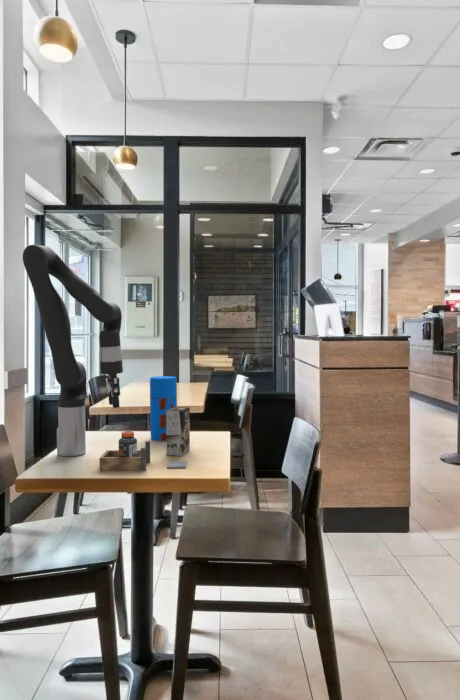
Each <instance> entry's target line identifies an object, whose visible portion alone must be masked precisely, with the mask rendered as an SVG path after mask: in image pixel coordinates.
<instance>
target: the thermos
mask: <svg viewBox="0 0 460 700" xmlns="http://www.w3.org/2000/svg"><path fill="white" fill-rule="evenodd" d="M177 381H178V380H177V377H176V376H171V375H170V376H169V375H167V376H165V375H164V376H162V375H161V376H151V377H150V378H149V408H150V409H149V416H150V417H149V421H150V422H149V423H150V424H149V426H150V428H149V429H150V430H149V431H150V440H151V441H155V442H156V441H157V442H166V439H167V438H166V410H169V409H171V408H173V407H178V397H177V396H178V385H177V384H178V382H177Z"/></svg>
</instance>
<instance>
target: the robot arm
mask: <svg viewBox="0 0 460 700" xmlns="http://www.w3.org/2000/svg"><path fill="white" fill-rule="evenodd" d="M22 263H23V266H24V269H25V271H26V273H27V276H28V279H29V281H30V284H31V287H32V290H33V293H34V298H35V301H36V304H37V307H38V311H39V316H40V320H41V323H42V327H43V330H44V333H45V336H46V340H47V343H48V346H49V349H50V351H51V352H50V353H51V358H52V363H53V370H54V377H55V379H56V382H57V383H58V384H59V385H60V392H59V397H58V398H57V403H58V404H57V407H58V408H57V409H58V410H57V411H58V414H57V415H58V416H57V417H58V419H57V420H58V427H57V428H56V455H57V456H61V457H78V456H81V455H82V456H83V455H84V454H86V452H87V450H86V449H87V446H86V443H87V442H86V441H87V440H86V439H87V437H86V398H87V371H86V368H85V365H84V364H82V363H81V362H80V361H77V360H76V356H75V354H74V353H75V352H74V349H73V346H72V328H71V326H72V325H71V320H70V316H69V313H68V309H67V305H66V304H65V302H64V301H65V300H63V297H62V296H61V295H60V294H59V292H58V291H57V289H56V288H55V287H54V284H53V282H52V280H51V277H50V276H52V277H53V278H55V279H56V280H58V282H60V283H61V284H62V285H63V287H64V288H65V290H66V292H67V293H68V294H69V295H70V296H71V297H72V298H73V299H74V300H75V301H77V302H78V304H79V303H80V305H82V306H83V307H85V309H86V310H87V311H88V312H89V314H90V315H91V316H92V317H93V318H94V319H96V320H97V321H98V322H101V323H103V326H102V330H100V331H99V336H98V337H99V339H98V340H99V363H100V366H99V367H100V374H101V375H105V383H106V392H107V395H108V404H109V405H110V406H111V405H112V408H113V409H117V408H118V409H119V408H120V396H121V390H120V389H121V387H120V378H119V377H118V374H122V373H123V372H124V366H123V351H122V348H121V347H122V346H121V337H120V336H121V334H120V332H121V330H122V329H121V328H122V327H121V326H122V315H123V314H122V310H121V307H120V306H119V305H118V304H117V303H115V302H108V301H106V300H104V299H103V298H102V297H101V295H100V293H99V291H98V290H97V289H95V288H94V287H93V286H92V285H91V284H89V283H88V282H87V281H85V280H84V279H83V278H82V277H80V276H79V275H78V274H77V272H75V271H74V270H73V269H72V268H71V267H69V265H67V264H66V262H65V261H63V258H61V257H60V256H59V254H57V252H56V251H55V250H54V249H52V248H51V247H49V246H46V245H40V244H30V245H27V246H26V247H25V248H24V250H23V252H22Z"/></svg>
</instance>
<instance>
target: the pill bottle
mask: <svg viewBox="0 0 460 700" xmlns="http://www.w3.org/2000/svg"><path fill="white" fill-rule="evenodd" d="M134 436H135V432H134V430H124V431H122V432H121V437H120V438H119V439H118V450H119V457H137V450H138V439H137V438H136V437H134Z"/></svg>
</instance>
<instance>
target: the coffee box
mask: <svg viewBox="0 0 460 700" xmlns="http://www.w3.org/2000/svg"><path fill="white" fill-rule="evenodd" d="M190 411H191V410H190V407H189V406H177V407H173V408H171V409H169V410H166V438H167V439H166V441H165V443H166V444H165V445H166V449H165V450H166V453H165V454H166V456H174V457H175V456H177V457H178V456H179V457H183V456H185V455H186V454H187V453H188V452H190V450H191V449H190V448H191V447H190V446H191V445H190V444H191V442H190V441H191V436H190V435H191V434H190V429H191V428H190V426H191V425H190V424H191V423H190V422H191V421H190V414H191V413H190Z"/></svg>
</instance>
